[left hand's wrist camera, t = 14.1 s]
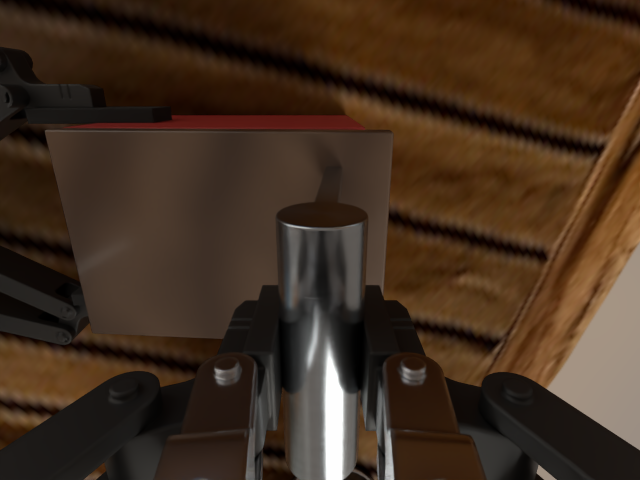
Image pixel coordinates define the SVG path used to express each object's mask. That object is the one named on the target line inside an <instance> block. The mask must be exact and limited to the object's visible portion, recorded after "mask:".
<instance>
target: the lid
mask: <svg viewBox="0 0 640 480" xmlns="http://www.w3.org/2000/svg"><path fill="white" fill-rule="evenodd" d="M45 135H46V139H47V143H48V147H49V152H50V156H51V160H52V164H53V169H54V173H55V177H56V181H57V186H58V190H59V194H60V198H61V203H62V207H63V211H64V215H65V219H66V224H67V228H68V232H69V236H70V241H71V245H72V249H73V253H74V258H75V262H76V266H77V270H78V274H79V279H80V283H81V287H82V291H83V296H84V300H85V304H86V308H87V313H88V317H89V321H90V325H91V330H92V332H93V333H101V334H124V335H147V336H170V337H192V338H215V339H224V336H225V334H226V331H227V329H228V326H229V323H230V321H231V318H232V316H233V313H234V311H235V309H236V308H237V307H238V306H239V305H240V304H242V303H243V302H244V301H245V300H258V298H259V295H260V292H261V288H262V285H278V294H279V317H280V341H281V366H282V391H283V415H284V439H285V458H286V463H287V465H288V467H289V469H290V470H291V472H292V473H293V474H294V475H295V476H296V477H297V478H298V479H300V480H344V479H345V478H346V477H347V476H348V475H349V474H350V473H351V472H352V471H353V469H354V467H355V465H356V463H357V459H358V441H359V419H360V397H361V392H360V383H361V360H362V338H363V319H364V308H365V285H379V286H380V288H381V291H382V295H383V293H384V277H385V261H386V246H387V230H388V214H389V198H390V182H391V166H392V151H393V132H392V131H390V130H318V129H157V128H57V129H48V130H46V131H45Z"/></svg>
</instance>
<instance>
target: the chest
mask: <svg viewBox="0 0 640 480" xmlns="http://www.w3.org/2000/svg"><path fill="white" fill-rule="evenodd" d="M63 128H157V129H318V130H365V128H364V127H363V126H361V125H360V124H359V123H357V122H356V121H354V120H353V119H351V118H350V117H348V116H347V115H172V120H168V121H162V122H157V123H93V124H86V125H78V126H71V127H63Z"/></svg>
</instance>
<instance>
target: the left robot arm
mask: <svg viewBox="0 0 640 480" xmlns="http://www.w3.org/2000/svg"><path fill="white" fill-rule="evenodd" d="M360 392H361V399H362V407H363V414H364V421H365V429H366V431H376V432H377V438H378V447H377V476H378V480H544V479H542V478H541V477H540V476H539V475H538V474H537V473H536V472H537V469H538V465H540V466H541V467H542V468H543V469H545V470H546V471H547V472H548V473H549V474H551V475H552V476H553V477H554V478H555V479H557V480H640V450H638V449H637V448H635V447H634V446H632V445H631V444H629V443H628V442H626V441H625V440H623V439H622V438H620V437H618V436H617V435H615V434H614V433H612V432H611V431H609V430H608V429H606V428H605V427H603V426H602V425H600V424H599V423H597V422H596V421H594V420H593V419H591V418H590V417H588V416H586V415H585V414H583V413H582V412H580V411H579V410H577V409H576V408H574V407H573V406H571V405H570V404H568V403H567V402H565V401H564V400H562V399H561V398H559V397H557V396H556V395H555V394H553V393H551V392H550V391H548V390H547V389H545V388H544V387H542V386H541V385H539V384H538V383H536V382H534V381H533V380H531V379H529V378H527V377H524V376H521V375H518V374H514V373H508V372H497V373H492V374H490V375H488V376H486V377H485V378H484V380H483V381H482V387H478V386H473V385H469V384H464V383H460V382H457V381H454V380H451V379H449V378H446V377H444V373H443V371H442V369H441V367H440V366H439V365H438V364H437V363H436V362H435V361H434V360H432V359H430V358H429V357H426V355H425V352H424V350H423V348H422V345H421V343H420V340H419V338H418V335H417V333H416V330H415V329H414V325H413V323H412V321H411V318H410V315H409V313H408V311H407V309H406V308H405V307H404V306H403V305H402V304H400V303H399V302H398V301H397V300H384V298H383V295H382V291H381V288H380V286H379V285H365V308H364V319H363V338H362V360H361V383H360ZM281 393H282V366H281V341H280V317H279V294H278V285H262V288H261V292H260V295H259V298H258V300H245V301H244V302H243V303H242V304H240V305H239V306H238V307H237V308H236V309H235V311H234V313H233V316H232V318H231V321H230V323H229V326H228V329H227V331H226V334H225V336H224V339H223V341H222V344H221V346H220V349H219V351H218V354H217V355H216V356H214V357H211V358H210V359H208V360H206V361H205V362H204V363H203V364H202V365H201V366H200V367H199V369H198V371H197V373H196V377H195V378H194V379H191V380H189V381H186V382H182V383H178V384H173V385H169V386H164V387H160V383H159V380H158V378H157V377H156V376H155V375H154V374H152V373H149V372H144V371H133V372H127V373H124V374H120V375H117V376H115V377H113V378H111V379H109V380H107V381H105V382H104V383H102V384H101V385H99V386H98V387H96V388H95V389H93V390H92V391H90V392H89V393H87V394H86V395H84V396H82V397H81V398H79V399H78V400H76V401H75V402H73V403H72V404H70V405H69V406H67V407H66V408H64V409H63V410H61V411H60V412H58V413H57V414H55V415H54V416H52V417H50V418H49V419H47V420H46V421H44V422H43V423H41V424H40V425H38V426H37V427H35V428H34V429H32V430H31V431H29V432H28V433H26V434H25V435H23V436H22V437H20V438H18V439H17V440H15V441H14V442H12V443H11V444H9V445H8V446H6V447H5V448H3V449H2V450H0V480H83V479H85V478H86V477H87V476H88V475H89V474H91V473H92V472H93V471H94V470H95V469H97V468H98V467H99V466H100V465H101V464H103V463H105V467H106V472H105V473H103V474H102V475H101V476H100V477H99V478H98V479H96V480H262V476H263V446H264V442H265V436H266V430H277V425H278V417H279V409H280V401H281ZM293 480H300V479H298V478H297V477H296V476H295V477H294V478H293ZM344 480H373V479H372V477H371V476H370V475H369V474H368V473H367V472H365V471H364V470H362V469H360V468H358V467H356V466H355V467H354V469H353V471H352V472H351V473H350V474H349V475H348V476H347V477H346V478H345V479H344Z"/></svg>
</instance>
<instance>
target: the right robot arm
mask: <svg viewBox="0 0 640 480" xmlns="http://www.w3.org/2000/svg"><path fill="white" fill-rule="evenodd" d="M32 68H33V62H32V59H31V57H30V56H29V55H28V54H27V53H26V52H25V51H22V50H17V49H11V48H4V47H0V140H2V139H3V138H4V137H6V136H7V135H9V134H10V133H12V132H13V131H14V130H16V129H17V128H19V127H20V126H21V125H23V124H24V123H26V122H27V121H28V124H93V123H157V122H162V121H168V120H172V115H171V107H106V103H105V97H104V92H103V88H100V87H97V86H95V85H85V84H45V83H43V82H41V81H40V80H39V79H38V78H37V77H36V76H35V74H34V72H33V71H32ZM89 323H90V321H89V317H88V313H87V308H86V304H85V300H84V296H83V291H82V287H81V283H80V282H79V281H76V280H74V279H72V278H70V277H68V276H65V275H63V274H61V273H59V272H57V271H55V270H52V269H50V268H48V267H46V266H44V265H41V264H39V263H37V262H35V261H33V260H31V259H28V258H26V257H24V256H22V255H20V254H17V253H15V252H13V251H11V250H9V249H7V248H4V247H2V246H0V331H4V332H8V333H13V334H17V335H22V336H26V337H30V338H35V339H39V340H44V341H48V342H52V343H57V344H61V345H66V344H69V343H70V342H71V341H72V340H73V339H74V338H75V337H76V336H77V335H78V334H79V333H80V332H81V331H82V330H83V329H84V328H85V327H86V326H87V325H88V324H89Z"/></svg>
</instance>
